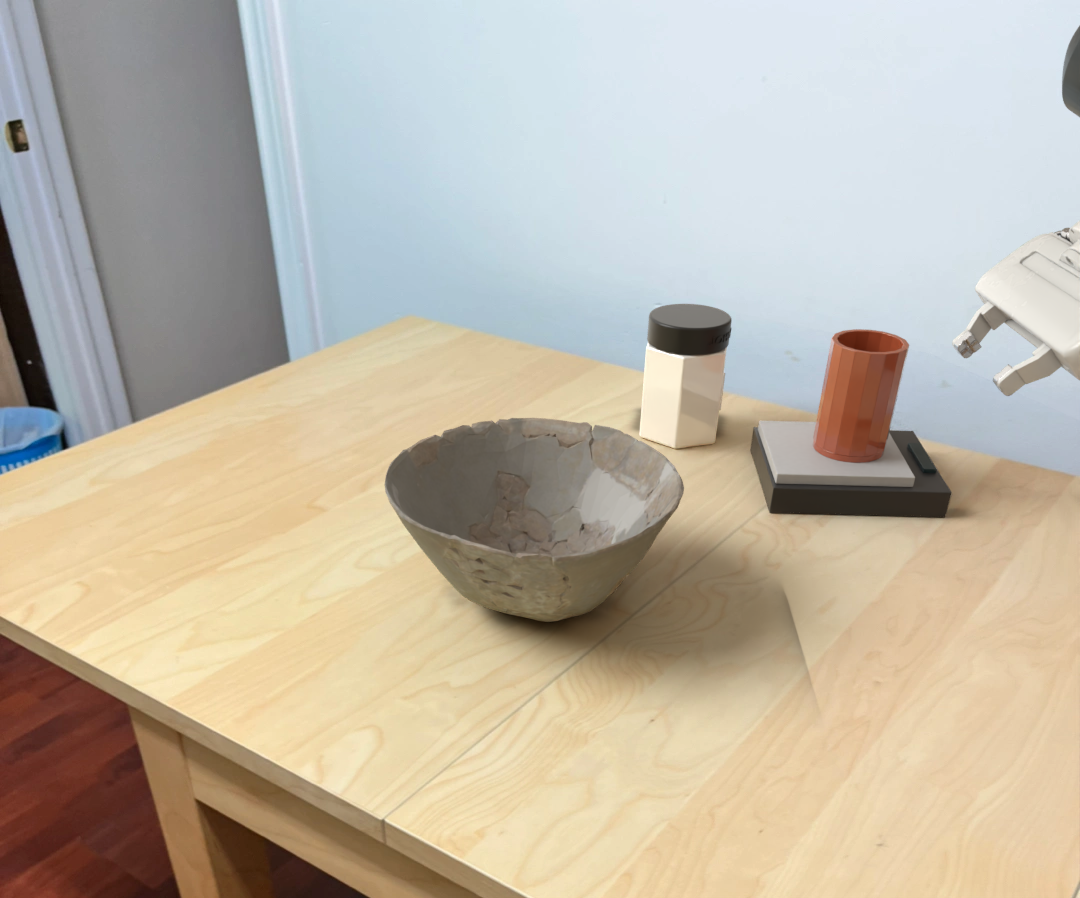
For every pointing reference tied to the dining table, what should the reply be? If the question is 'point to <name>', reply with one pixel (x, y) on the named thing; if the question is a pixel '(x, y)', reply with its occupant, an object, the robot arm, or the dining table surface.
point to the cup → (859, 394)
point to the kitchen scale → (845, 476)
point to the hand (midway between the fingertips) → (977, 369)
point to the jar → (684, 374)
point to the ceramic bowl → (534, 510)
